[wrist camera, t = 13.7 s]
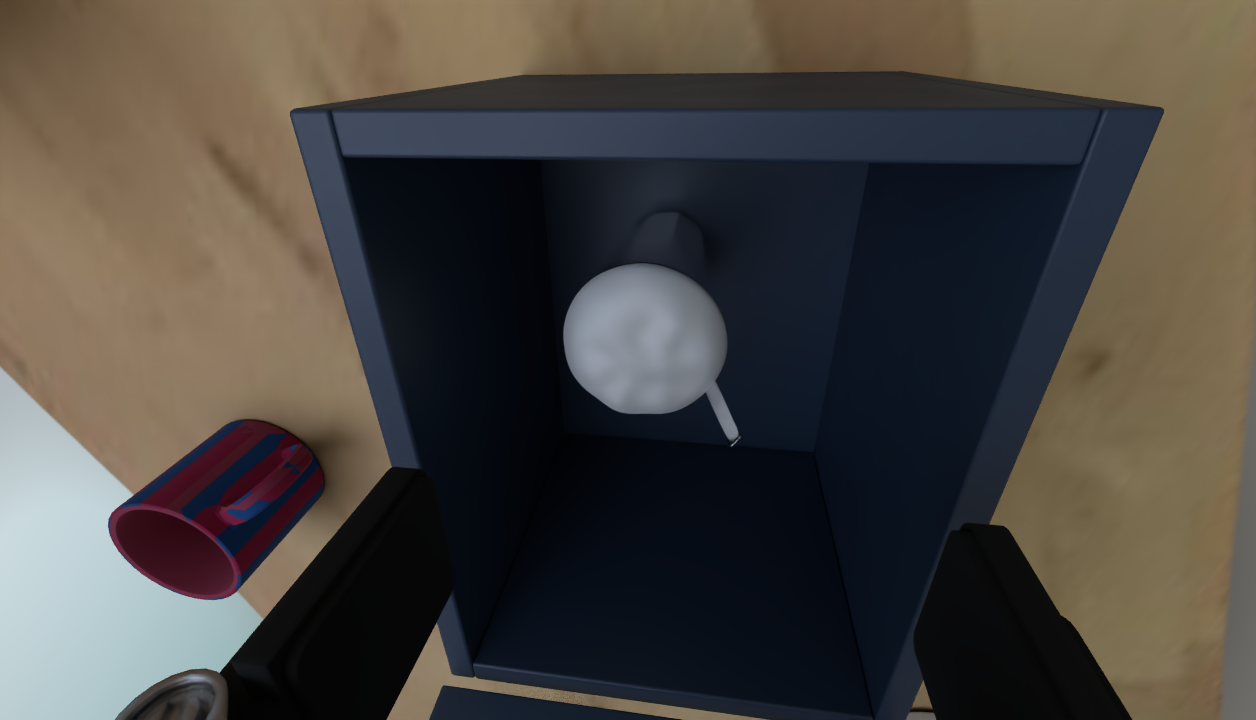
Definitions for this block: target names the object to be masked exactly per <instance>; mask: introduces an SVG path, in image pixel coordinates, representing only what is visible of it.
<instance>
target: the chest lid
mask: <svg viewBox="0 0 1256 720" xmlns="http://www.w3.org/2000/svg"><path fill="white" fill-rule="evenodd" d="M429 720H681V719H674V718H667V717H660V716H653V715H646V714H639V713H633V712H626V711H619V710H612V709H605V708H598V707H591V706H584V705H577V704H570V703H563V702H556V701H549V700H542V699H535V698H528V697H521V696H514V695H507V694H501V693H494V692H487V691H480V690H473V689H466V688H459V687H452V686H445V685H444V686H443V687H442V689H441V691H440V694H439V696H438V699H437V701H436V704H435V706H434V709H433V712H432V714H431V717H430V719H429Z"/></svg>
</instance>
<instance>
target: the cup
mask: <svg viewBox="0 0 1256 720" xmlns="http://www.w3.org/2000/svg"><path fill="white" fill-rule="evenodd" d="M323 489H324V478H323V473H322V470H321V467H320V465H319V464H318V462H317V460H316V458H315V457H314V456H313V454H312V453H311V451H310V450H309V449H308V448H307V447H306V446H305V445H304V444H302V443H301V442H300V441H299V440H298V439H296V438H295V437H294V436H292V435H291V434H289V433H288V432H286V431H284V430H282V429H280V428H278V427H276V426H273V425H270V424H268V423H264V422H260V421H253V420H239V421H235V422H231V423H229V424H227V425H225V426H224V427H222V428H221V429H220V430H218V431H217V432H216V433H214V434H213V435H212V436H211V437H209V438H208V439H207V440H205V441H204V442H203V443H201V444H200V445H199V446H198V447H196V448H195V449H194V450H192V451H191V452H190V453H188V454H187V455H186V456H184V457H183V458H182V459H181V460H179V461H178V462H177V463H175V464H174V465H173V466H171V467H170V468H169V469H168V470H166V471H165V472H164V473H162V474H161V475H160V476H158V477H157V478H156V479H154V480H153V481H152V482H151V483H149V484H148V485H147V486H145V487H144V488H143V489H141V490H140V491H139V492H137V493H136V494H135V495H134V496H132V497H131V498H130V499H128V500H127V501H126V502H125V503H123V504H122V505H121V506H119V507H118V508H117V509H115V511H114V512H112V514H111V516H110V518H109V522H108V528H109V533H110V536H111V539H112V541H113V543H114V545H115V546H116V548H117V549H118V551H119V552H120V553H121V554H122V556H123V557H124V558H125V559H126V560H127V561H128V562H129V563H130V564H131V565H132V566H133V567H134V568H135V569H137V570H138V571H139V572H140V573H142V574H143V575H145V576H146V577H147V578H149V579H151V580H152V581H154V582H156V583H157V584H159V585H161V586H163V587H165V588H167V589H169V590H171V591H173V592H176V593H179V594H182V595H185V596H188V597H192V598H197V599H204V600H217V599H223V598H226V597H229V596H231V595H232V594H234V593H236V592H237V590H238V589H239V588H240V587H241V586H242V585H243V584H244V583H245V581H246V580H247V579H248V578H249V577H250V576H251V575H252V573H253V572H254V571H255V570H256V569H257V568H258V567H259V566H260V564H261V563H262V562H263V561H264V560H265V559H266V558H267V557H268V555H269V554H270V553H271V552H272V551H273V550H274V549H275V548H276V546H277V545H278V544H279V543H280V542H281V541H282V540H283V539H284V537H285V536H286V535H287V534H288V533H289V532H290V531H291V530H292V528H293V527H294V526H295V525H296V524H297V523H298V522H299V520H300V519H301V518H302V517H303V516H304V515H305V514H306V513H307V511H308V510H309V509H310V508H311V507H312V506H313V505H314V504H315V502H316V501H317V500H318V499H319V498H320V496H321V495H322V492H323Z"/></svg>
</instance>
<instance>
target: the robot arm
mask: <svg viewBox="0 0 1256 720" xmlns="http://www.w3.org/2000/svg"><path fill="white" fill-rule="evenodd" d="M454 585H455V570H454V565H453V561H452V556H451V552H450V548H449V543H448V539H447V534H446V530H445V526H444V521H443V517H442V512H441V508H440V504H439V499H438V495H437V490H436V486H435V482H434V480H433V479H432V478H429V477H428V476H427V474H426V472H425V471H424V470H422V469H415V468H405V467H392V468H390V469H389V470H388V471H387V472H386V473H385V475H384V476H383V477H382V478H381V479H380V481H379V482H378V483H377V484H376V485H375V487H374V488H373V489H372V490H371V491H370V493H369V494H368V495H367V496H366V497H365V499H364V500H363V501H362V502H361V504H360V505H359V506H358V507H357V508H356V510H355V511H354V512H353V513H352V514H351V516H350V517H349V518H348V519H347V520H346V522H345V523H344V524H343V525H342V526H341V528H340V529H339V530H338V531H337V532H336V534H335V535H334V536H333V537H332V538H331V540H330V541H329V542H328V543H327V544H326V545H325V546H324V548H323V549H322V550H321V551H320V552H319V554H318V555H317V556H316V557H315V559H314V560H313V561H312V562H311V563H310V565H309V566H308V567H307V568H306V569H305V571H304V572H303V573H302V574H301V575H300V577H299V578H298V579H297V580H296V581H295V583H294V584H293V585H292V586H291V587H290V589H289V590H288V591H287V592H286V593H285V595H284V596H283V597H282V598H281V599H280V601H279V602H278V603H277V604H276V606H275V607H274V608H273V609H272V610H271V612H270V613H269V614H268V615H267V616H266V618H265V619H264V620H263V621H262V622H261V624H260V625H259V626H258V627H257V629H256V630H255V631H254V632H253V633H252V634H251V636H250V637H249V638H248V639H247V641H246V642H245V643H244V644H243V645H242V647H241V648H240V649H239V650H238V651H237V653H236V654H235V655H234V656H233V657H232V659H231V660H230V661H229V662H228V663H227V665H226V666H225V667H224V668H223V669H222V671H221V672H220V673H218V672H216V671H213V670H209V669H192V670H187V671H184V672H181V673H178V674H175V675H172V676H170V677H168V678H166V679H164V680H162V681H160V682H158V683H156V684H154V685H153V686H151V687H150V688H149V689H147V690H146V691H145V692H143V693H142V694H140V695H139V696H138V697H136V698H135V699H134V700H133V701H132V702H131V703H130V704H129V705H128V706H127V707H126V708H125V709H124V710H123V711H122V712H121V713H120V714H119V715H118V716H117V718H116V719H115V720H386V719H387V717H388V716H389V714H390V712H391V710H392V708H393V706H394V704H395V702H396V700H397V698H398V696H399V694H400V692H401V690H402V688H403V687H404V685H405V683H406V681H407V679H408V677H409V675H410V673H411V671H412V669H413V667H414V665H415V663H416V661H417V659H418V658H419V656H420V654H421V652H422V650H423V648H424V646H425V644H426V642H427V640H428V638H429V636H430V634H431V632H432V630H433V629H434V627H435V625H436V623H437V621H438V619H439V617H440V615H441V613H442V611H443V609H444V607H445V605H446V603H447V601H448V599H449V598H450V596H451V594H452V591H453V588H454ZM913 644H914V651H915V655H916V658H917V661H918V664H919V667H920V670H921V673H922V677H923V680H924V683H925V686H926V689H927V692H928V695H929V699H930V702H931V705H932V708H933V711H934V713H931V712H909V714H908V716H907V719H906V720H1132V718H1131V717H1130V715H1129V713H1128V712H1127V710H1126V709H1125V707H1124V705H1123V704H1122V702H1121V700H1120V699H1119V697H1118V696H1117V694H1116V692H1115V691H1114V689H1113V688H1112V686H1111V684H1110V683H1109V681H1108V679H1107V678H1106V676H1105V675H1104V673H1103V671H1102V670H1101V668H1100V666H1099V665H1098V663H1097V662H1096V660H1095V658H1094V657H1093V655H1092V654H1091V652H1090V650H1089V649H1088V647H1087V645H1086V644H1085V642H1084V641H1083V639H1082V637H1081V636H1080V634H1079V632H1078V631H1077V630H1076V629H1075V627H1074V626H1073V625H1072V623H1071V622H1070V621H1068V620H1067V619H1066V618H1064V617H1063V616H1061V615H1060V613H1059V612H1058V610H1057V609H1056V607H1055V605H1054V604H1053V602H1052V600H1051V599H1050V597H1049V595H1048V594H1047V592H1046V590H1045V589H1044V587H1043V585H1042V584H1041V582H1040V580H1039V579H1038V577H1037V575H1036V574H1035V572H1034V570H1033V569H1032V567H1031V566H1030V564H1029V562H1028V561H1027V559H1026V557H1025V556H1024V554H1023V552H1022V551H1021V549H1020V547H1019V546H1018V544H1017V542H1016V541H1015V539H1014V537H1013V536H1012V534H1011V533H1010V531H1009V530H1008V529H1007V528H1005V527H1004V526H998V525H988V524H978V523H964V524H963V525H962V526H961V528H960V530H952V531H951V532H950V533H949V535H948V538H947V541H946V544H945V546H944V549H943V552H942V555H941V558H940V560H939V563H938V566H937V569H936V571H935V574H934V577H933V580H932V583H931V585H930V588H929V591H928V594H927V597H926V599H925V602H924V605H923V608H922V610H921V613H920V616H919V619H918V622H917V624H916V627H915V630H914V636H913Z"/></svg>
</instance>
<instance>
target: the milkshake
mask: <svg viewBox="0 0 1256 720" xmlns="http://www.w3.org/2000/svg"><path fill="white" fill-rule="evenodd" d="M563 339H564V348H565V354H566V359H567V362H568V365H569V368H570V370H571V372H572V374H573V375H574V377H575V378H576V380H577V381H578V382H579V383H580V385H581V386H582V387H583V388H585V389H586V390H587V391H588V392H589V393H591V394H592V395H593V396H595V397H596V398H597V399H599V400H600V401H601V402H603V403H604V404H605V405H607V406H608V407H610V408H612V409H613V410H616V411H618V412H622V413H628V414H664V413H670V412H674V411H677V410H679V409H682V408H684V407H686V406H688V405H689V404H691V403H692V402H694V401H695V400H697V399H698V398H699V397H701V396H702V395H703V394H704V393H705V392H706V394H707V397H708V399H709V401H710V404H711V406H712V408H713V410H714V413H715V415H716V417H717V419H718V422H719V424H720V426H721V429H722V431H723V433H724V435H725V438H726V440H727V442H728V444H729V446H730V447H732V446H733V445H734V444H735V443H736V442H737V441H738V440H739V439H740V438H741V434H740V432H739V430H738V427H737V425H736V423H735V421H734V419H733V417H732V415H731V412H730V410H729V408H728V406H727V404H726V402H725V400H724V397H723V395H722V393H721V391H720V389H719V387H718V385H717V383H716V379H717V377H718V376H719V374H720V372H721V370H722V368H723V365H724V363H725V359H726V355H727V346H728V339H727V331H726V326H725V322H724V318H723V314H722V310H721V307H720V303H719V299H718V295H717V292H716V288H715V282H714V276H713V270H712V265H711V259H710V253H709V249H708V247H707V244H706V241H705V238H704V235H703V232H702V229H701V227H700V226H699V225H698V224H696V223H695V222H693V221H692V220H690V219H689V218H687V217H686V216H684V215H683V214H681V213H680V212H662V213H652V214H651V215H649V216H648V217H647V218H646V219H644V220H643V221H642V222H641V223H639V224H638V225H637V226H635V227H634V228H633V229H632V230H631V231H630V232H629V234H628V235H627V236H626V237H625V239H624V240H623V241H622V242H621V244H620V245H619V246H618V247H617V249H616V250H615V251H614V253H613V254H612V255H611V256H610V258H609V259H608V260H607V261H606V263H605V264H604V265H603V266H602V267H601V268H600V269H599V270H598V271H597V272H596V273H595V275H594V276H593V277H592V278H591V279H590V280H589V281H588V282H587V283H586V284H585V285H584V286H583V287H582V288H581V290H580V291H579V292H578V293H577V295H576V296H575V298H574V299H573V301H572V303H571V305H570V307H569V310H568V312H567V315H566V319H565V323H564V331H563Z"/></svg>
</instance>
